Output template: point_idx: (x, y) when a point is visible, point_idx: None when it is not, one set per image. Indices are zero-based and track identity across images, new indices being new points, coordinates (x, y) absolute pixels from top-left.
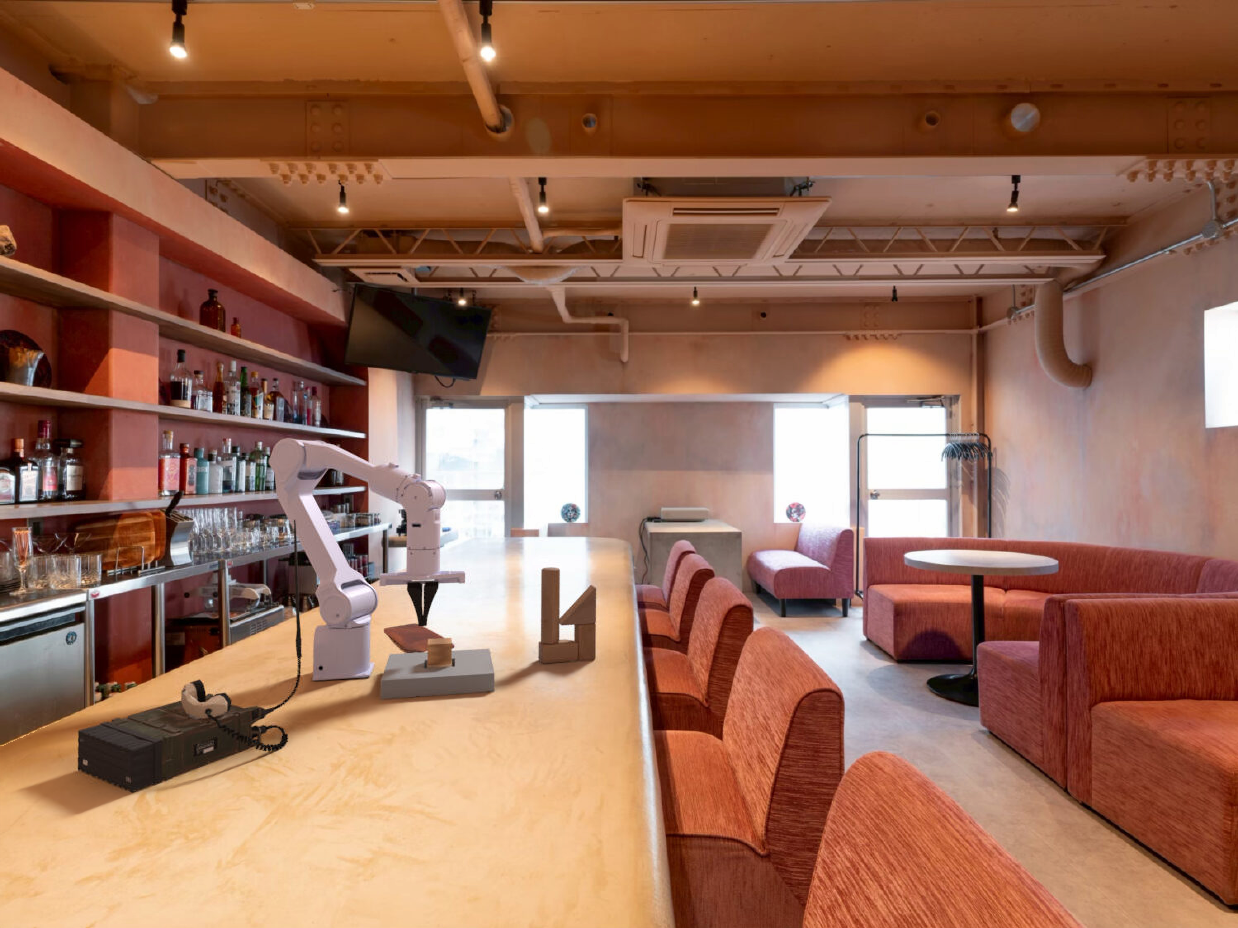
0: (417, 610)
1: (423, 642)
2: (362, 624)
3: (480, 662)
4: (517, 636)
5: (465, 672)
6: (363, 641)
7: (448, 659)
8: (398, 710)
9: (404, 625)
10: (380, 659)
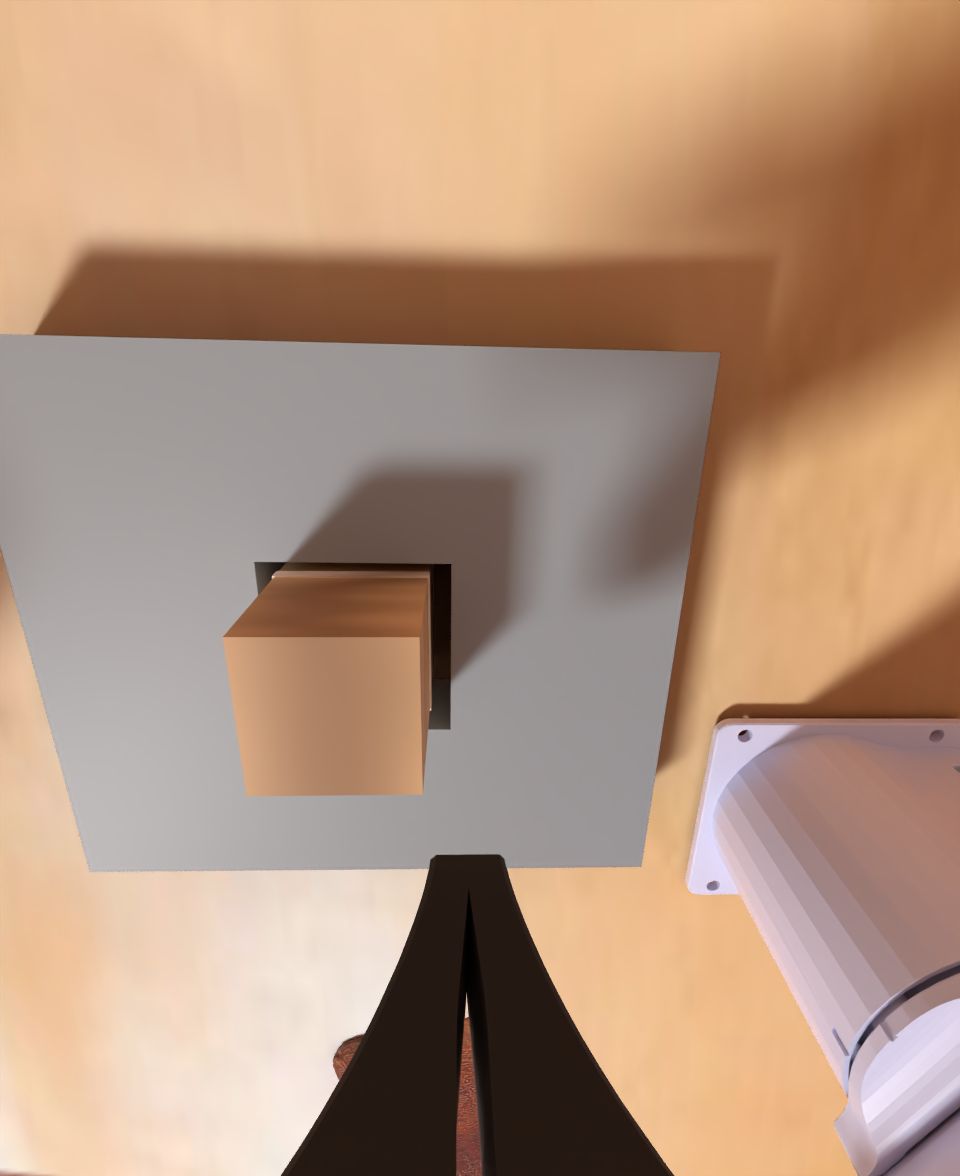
0: (531, 981)
1: (471, 1099)
2: (931, 996)
3: (96, 614)
4: (61, 1147)
5: (163, 403)
6: (839, 889)
7: (285, 589)
8: (585, 98)
9: None
10: (652, 954)
